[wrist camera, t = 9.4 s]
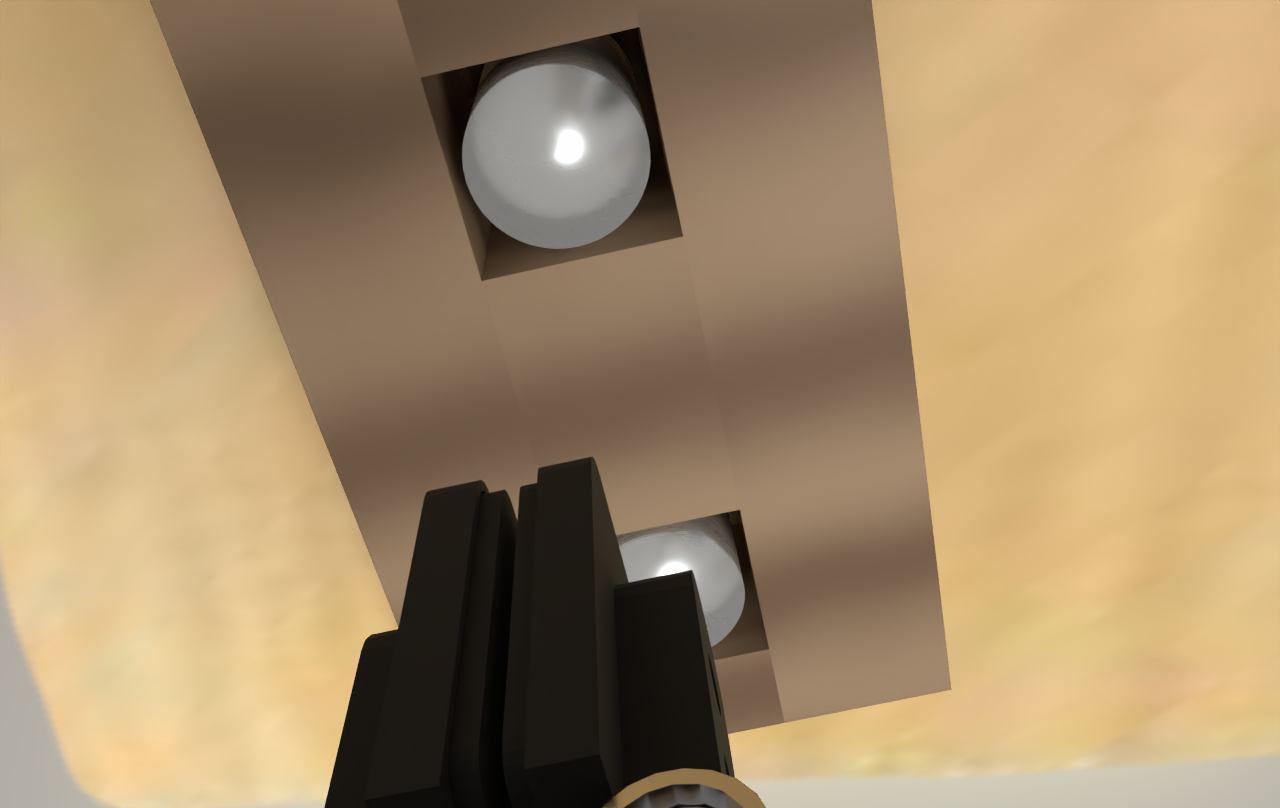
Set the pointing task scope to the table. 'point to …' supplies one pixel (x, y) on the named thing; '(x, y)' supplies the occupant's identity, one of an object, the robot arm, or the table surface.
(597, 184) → the peg
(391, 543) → the walnut block
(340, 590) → the table surface
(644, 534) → the peg
